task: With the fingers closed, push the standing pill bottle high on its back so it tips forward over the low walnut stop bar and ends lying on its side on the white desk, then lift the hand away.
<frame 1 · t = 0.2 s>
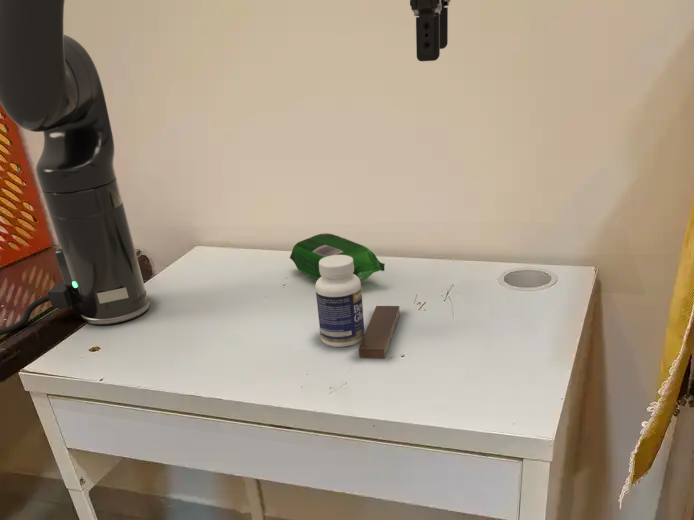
hand: (432, 54, 74), 29 cm above the table, tool pointing down, fingers open, 8 cm apart
snack package: (336, 279, 104), on the table
stop bar: (380, 335, 88), on the table
pill bottle: (343, 339, 88), on the table
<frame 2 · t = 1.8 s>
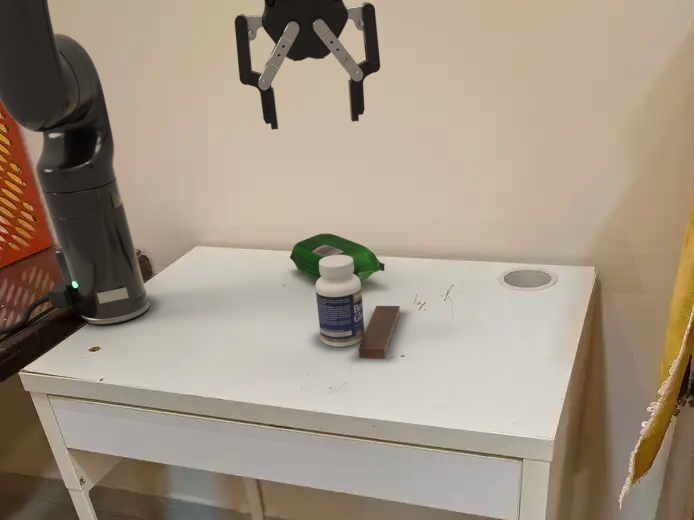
hand: (314, 124, 76), 24 cm above the table, tool pointing down, fingers open, 8 cm apart
nothing on the table moved.
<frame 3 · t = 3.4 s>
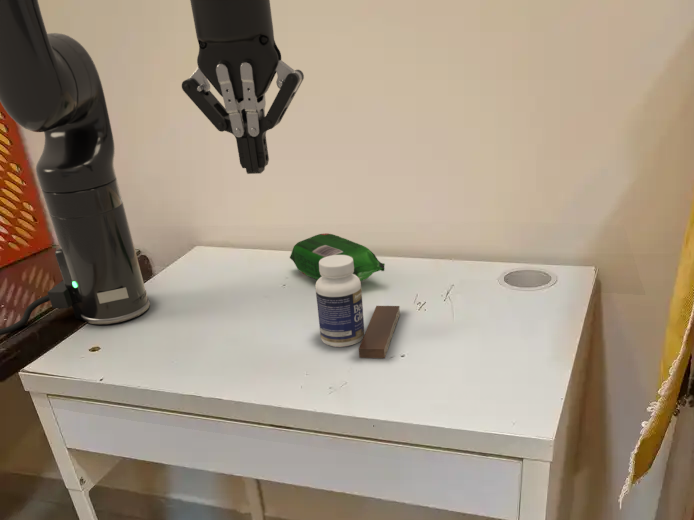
hand: (255, 171, 78), 20 cm above the table, tool pointing down, fingers closed
nothing on the table moved.
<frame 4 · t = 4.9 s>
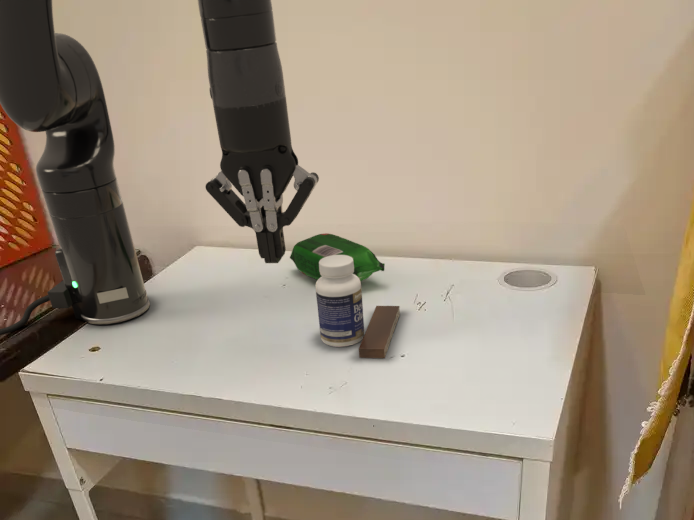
hand: (273, 260, 84), 10 cm above the table, tool pointing down, fingers closed
nothing on the table moved.
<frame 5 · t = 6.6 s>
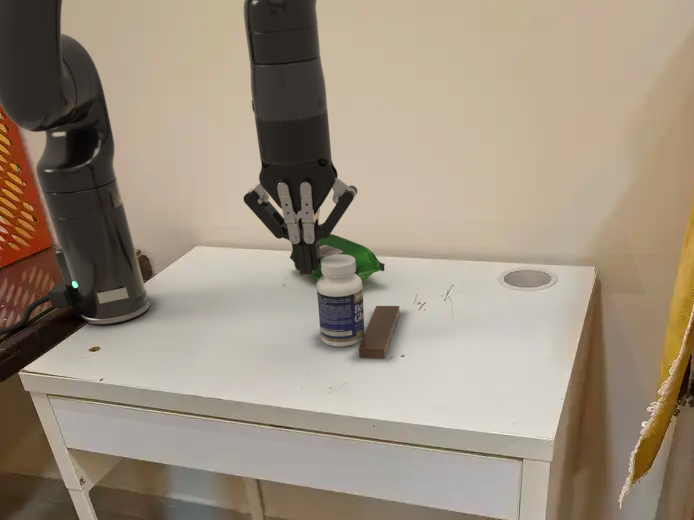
hand: (308, 272, 84), 8 cm above the table, tool pointing down, fingers closed
pill bottle: (343, 339, 88), on the table, touching gripper
everything else where it was.
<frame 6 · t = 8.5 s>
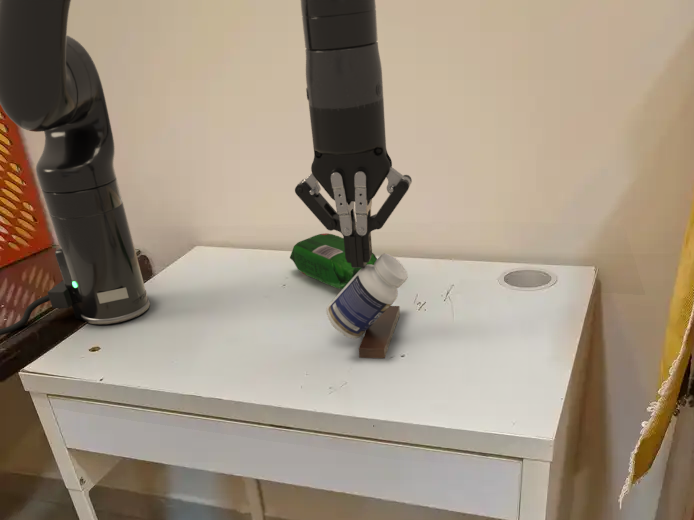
hand: (359, 265, 82), 9 cm above the table, tool pointing down, fingers closed
pill bottle: (341, 323, 87), point 2 cm above the table, touching gripper, stop bar
everything else where it was.
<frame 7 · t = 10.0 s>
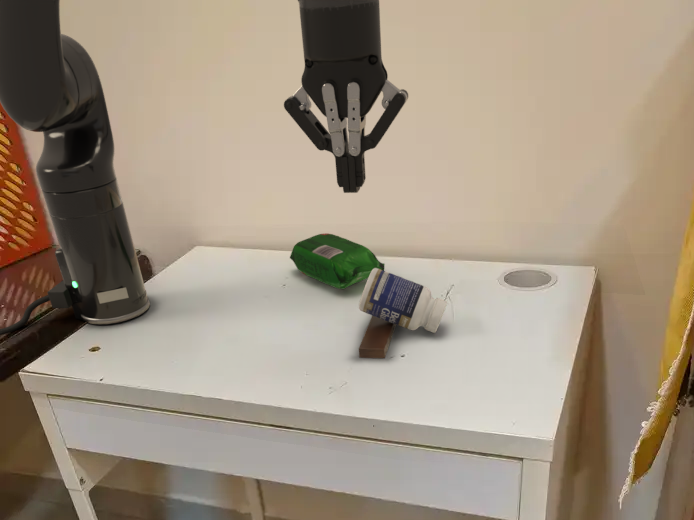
hand: (351, 190, 77), 17 cm above the table, tool pointing down, fingers closed
pill bottle: (364, 288, 86), point 5 cm above the table, touching stop bar
everything else where it was.
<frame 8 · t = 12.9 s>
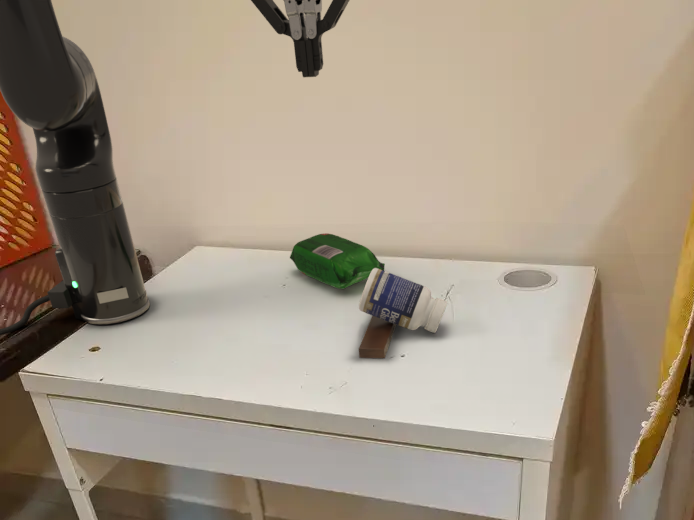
hand: (310, 75, 82), 27 cm above the table, tool pointing down, fingers closed
nothing on the table moved.
at the end: pill bottle tilted 111°; pill bottle inside the target area (5.2 cm from its centre), point 5.4 cm above the table; the gripper is holding nothing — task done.
